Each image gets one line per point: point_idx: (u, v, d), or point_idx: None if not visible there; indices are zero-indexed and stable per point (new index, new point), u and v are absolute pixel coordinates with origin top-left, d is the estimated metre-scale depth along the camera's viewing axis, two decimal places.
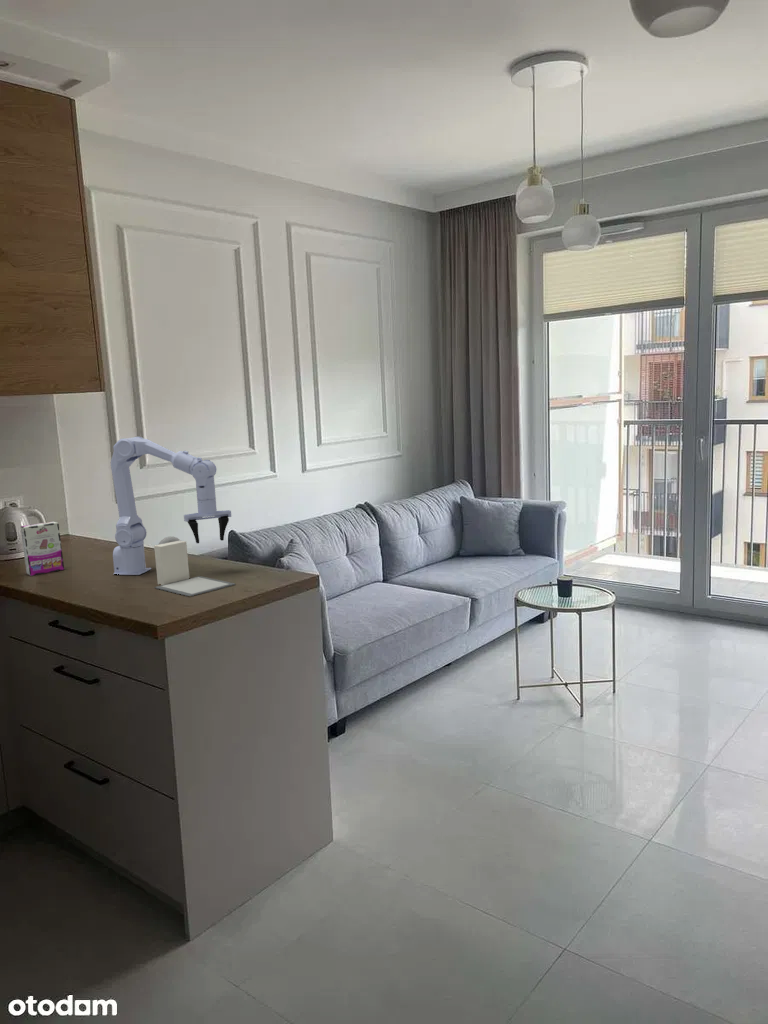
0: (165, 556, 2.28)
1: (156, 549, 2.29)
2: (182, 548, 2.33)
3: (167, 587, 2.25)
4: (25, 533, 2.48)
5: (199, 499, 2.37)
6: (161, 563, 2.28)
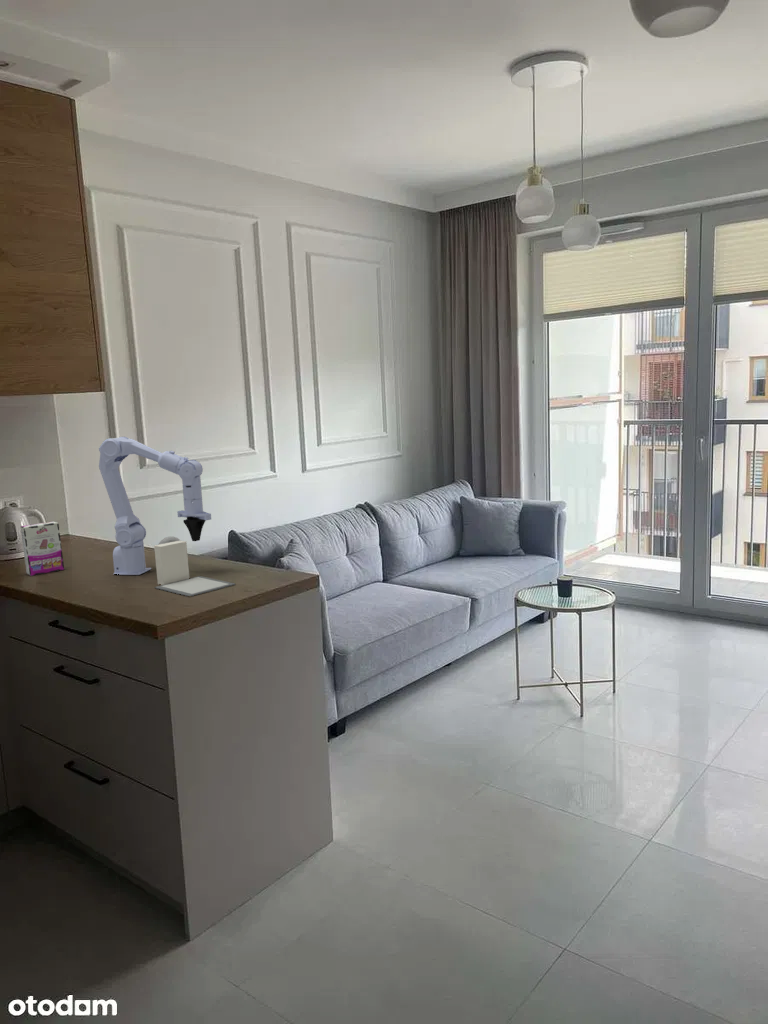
0: (165, 556, 2.28)
1: (156, 549, 2.29)
2: (182, 548, 2.33)
3: (167, 587, 2.25)
4: (25, 533, 2.48)
5: (186, 499, 2.39)
6: (161, 563, 2.28)
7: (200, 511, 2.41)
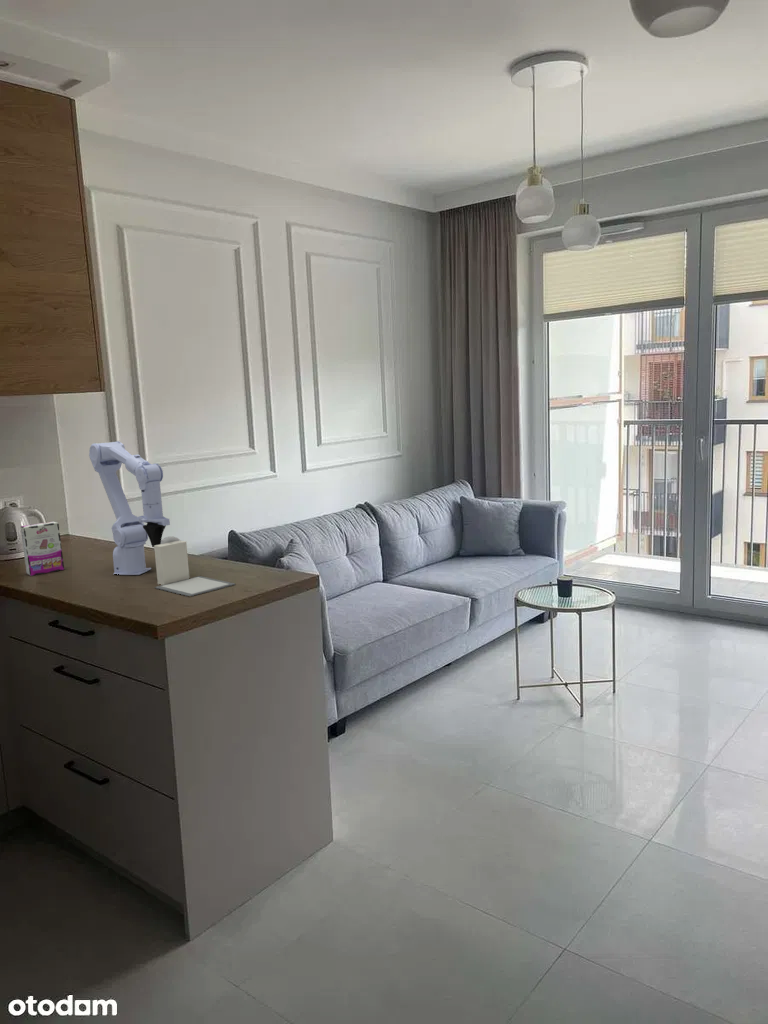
0: (165, 556, 2.28)
1: (156, 549, 2.29)
2: (182, 548, 2.33)
3: (167, 587, 2.25)
4: (25, 533, 2.48)
5: None
6: (161, 563, 2.28)
7: (159, 516, 2.34)
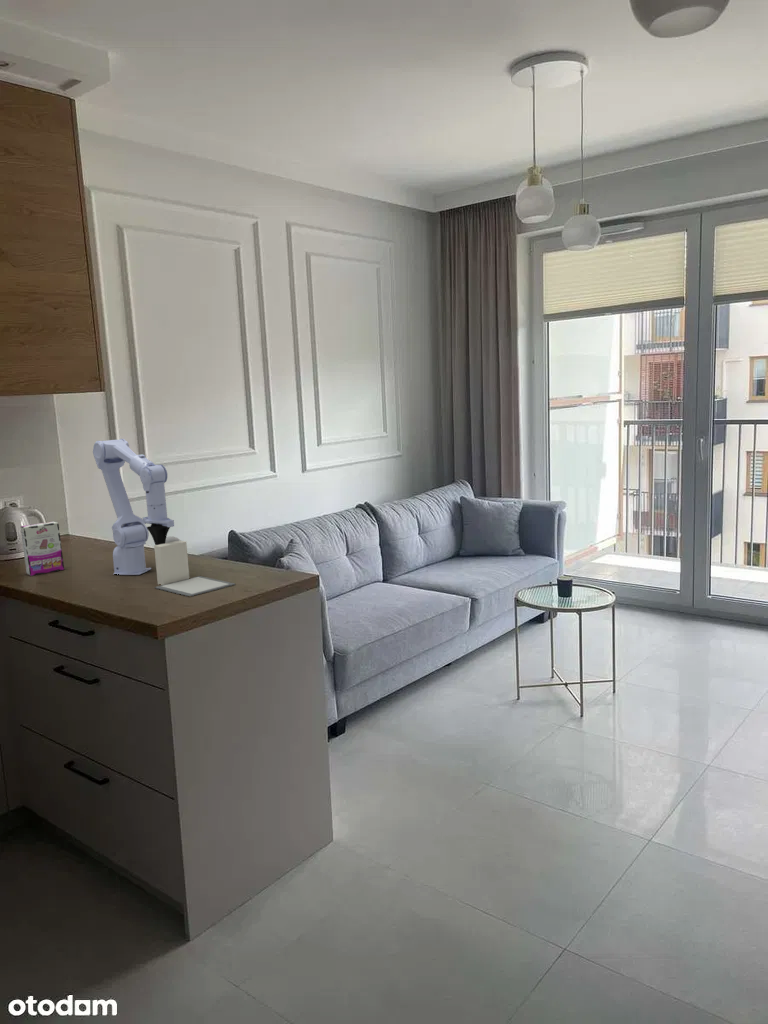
0: (165, 556, 2.28)
1: (156, 549, 2.29)
2: (182, 548, 2.33)
3: (167, 587, 2.25)
4: (25, 533, 2.48)
5: None
6: (161, 563, 2.28)
7: (163, 517, 2.33)
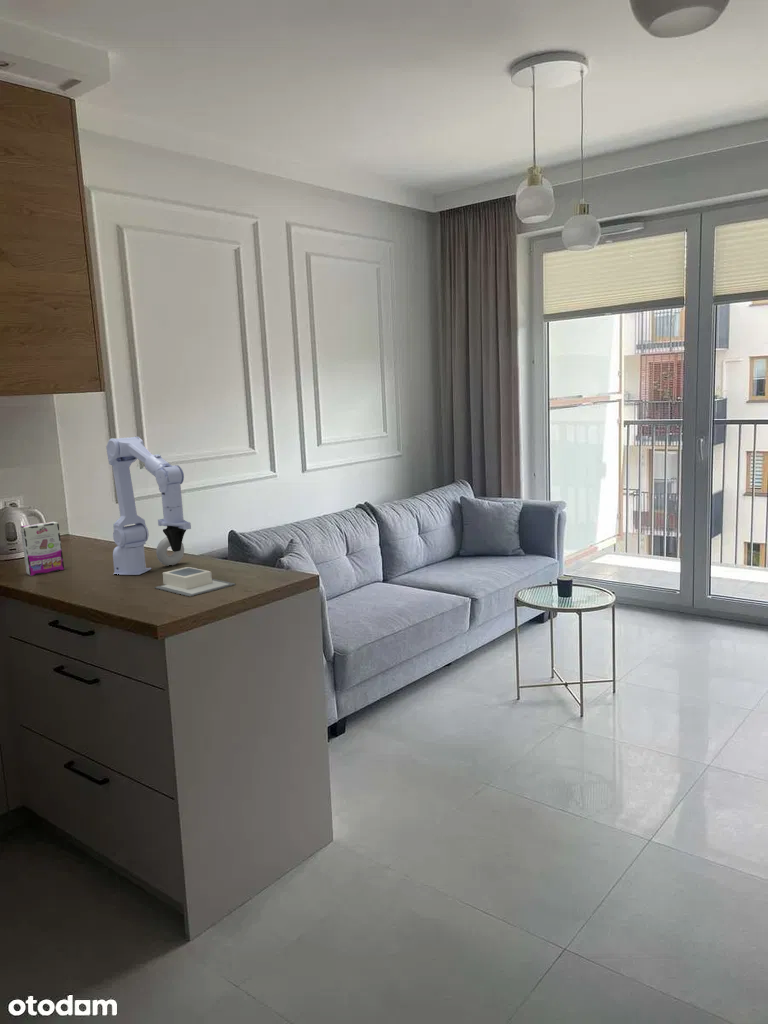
0: None
1: (183, 581, 2.21)
2: None
3: (167, 587, 2.25)
4: (25, 533, 2.48)
5: None
6: (176, 585, 2.24)
7: (180, 520, 2.27)
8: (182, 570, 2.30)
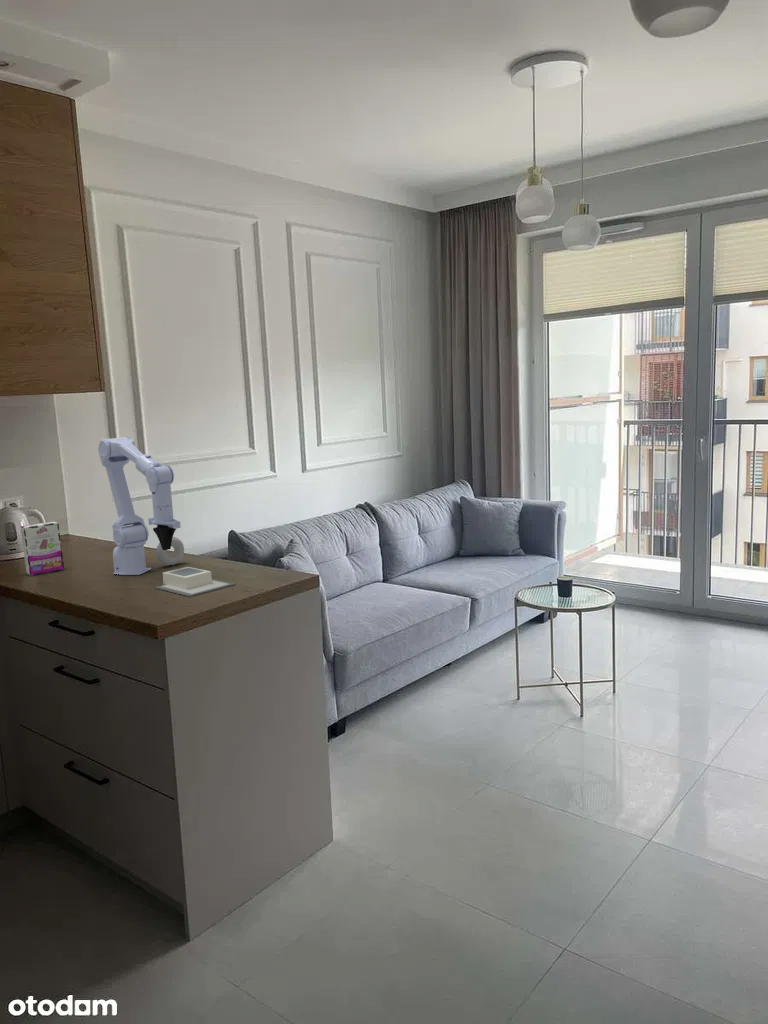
0: None
1: (183, 581, 2.21)
2: None
3: (167, 587, 2.25)
4: (25, 533, 2.48)
5: None
6: (176, 585, 2.24)
7: (170, 519, 2.30)
8: (182, 570, 2.30)
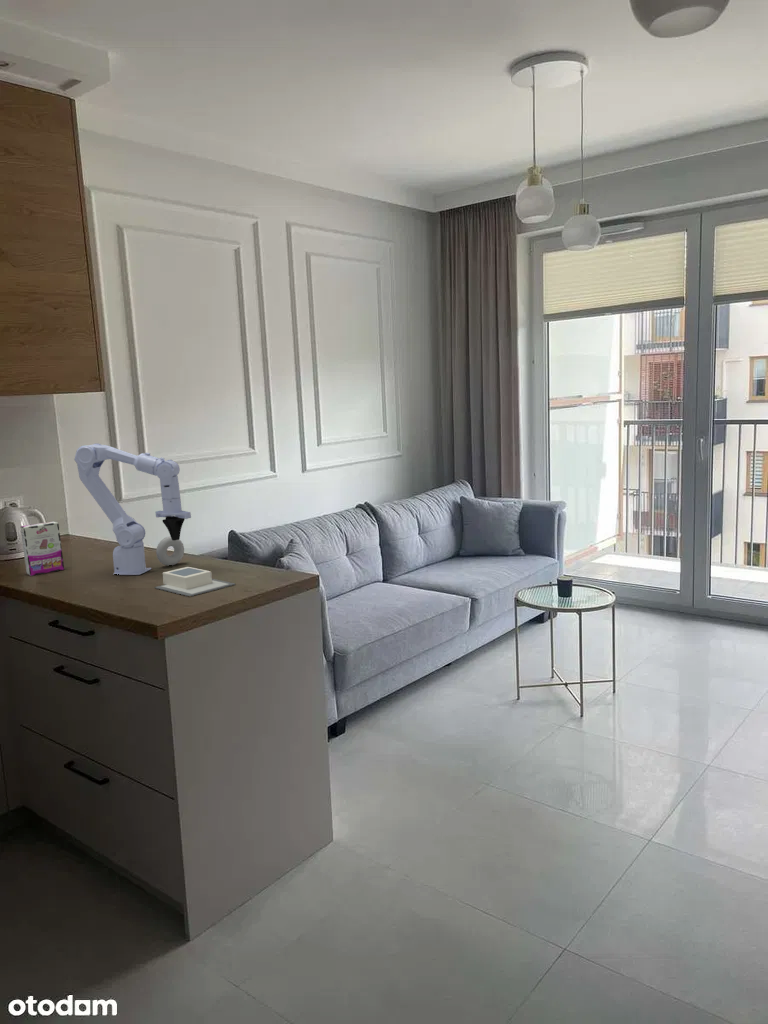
0: None
1: (183, 581, 2.21)
2: None
3: (167, 587, 2.25)
4: (25, 533, 2.48)
5: (164, 498, 2.41)
6: (176, 585, 2.24)
7: (179, 510, 2.43)
8: (182, 570, 2.30)
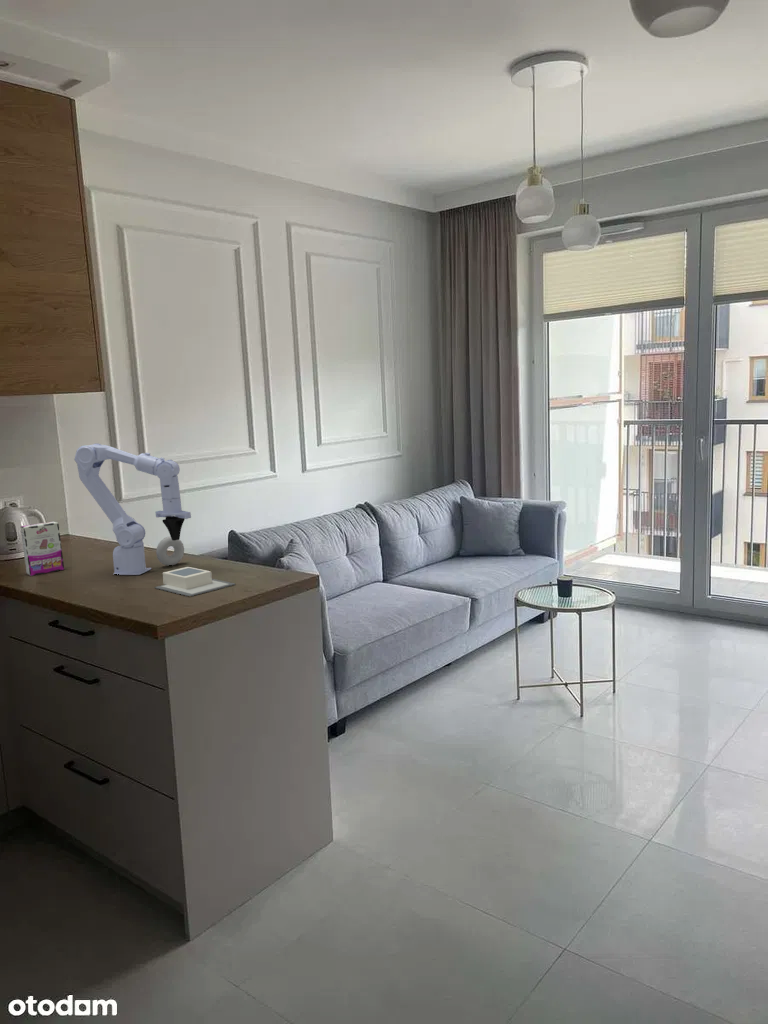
0: None
1: (183, 581, 2.21)
2: None
3: (167, 587, 2.25)
4: (25, 533, 2.48)
5: (164, 498, 2.41)
6: (176, 585, 2.24)
7: (179, 510, 2.43)
8: (182, 570, 2.30)
